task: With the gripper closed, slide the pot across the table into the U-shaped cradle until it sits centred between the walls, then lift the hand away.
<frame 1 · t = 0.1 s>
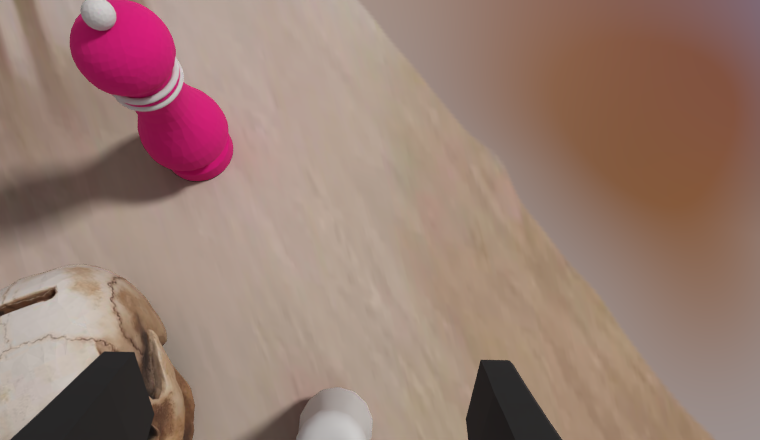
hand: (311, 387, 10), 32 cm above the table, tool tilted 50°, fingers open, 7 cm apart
pepper mill: (201, 152, 46), on the table
salt shaker: (336, 421, 40), on the table
skull: (121, 395, 40), on the table
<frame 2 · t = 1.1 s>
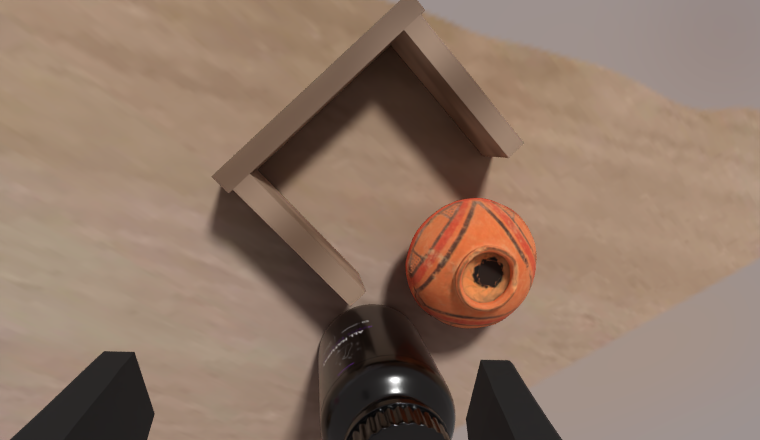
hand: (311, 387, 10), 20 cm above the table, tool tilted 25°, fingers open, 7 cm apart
supplement bottle: (368, 349, 32), on the table
pot: (453, 251, 32), on the table
cradle: (384, 174, 30), on the table
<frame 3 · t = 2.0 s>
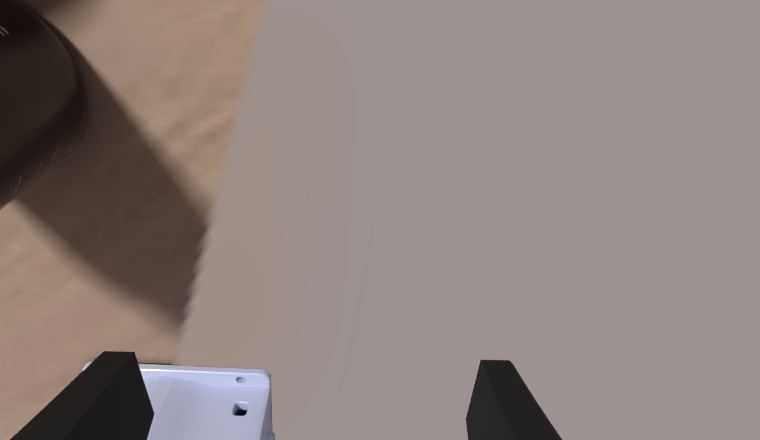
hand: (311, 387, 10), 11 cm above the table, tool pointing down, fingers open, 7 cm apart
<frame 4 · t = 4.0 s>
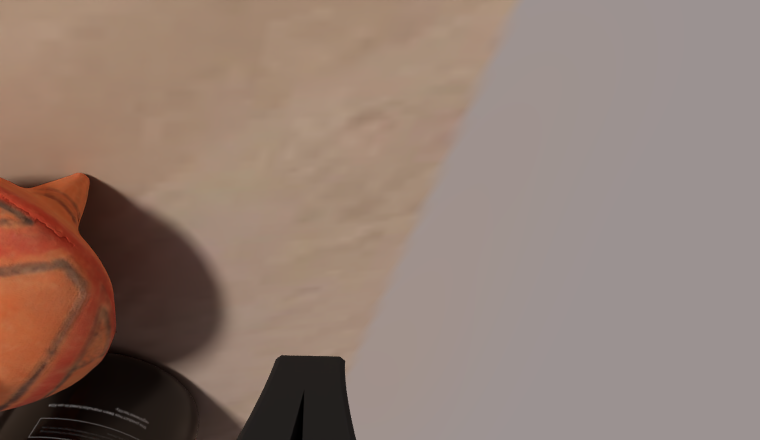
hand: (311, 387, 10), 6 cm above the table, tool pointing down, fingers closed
supplement bottle: (120, 398, 20), on the table
pot: (27, 220, 15), on the table
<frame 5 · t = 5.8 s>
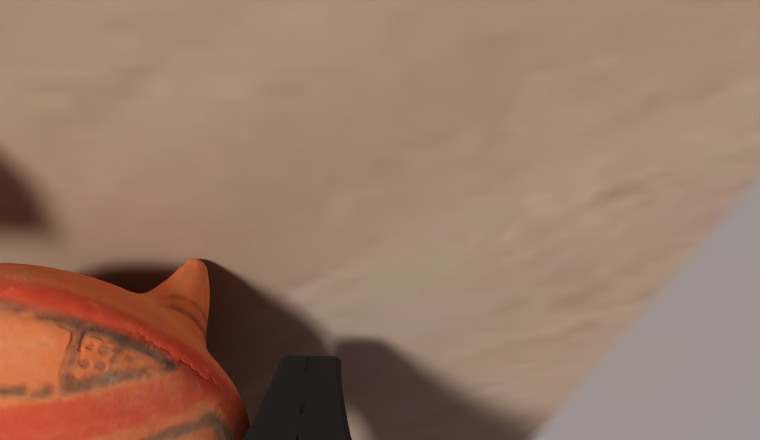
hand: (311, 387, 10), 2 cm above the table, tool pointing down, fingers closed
pot: (114, 308, 12), on the table, touching gripper
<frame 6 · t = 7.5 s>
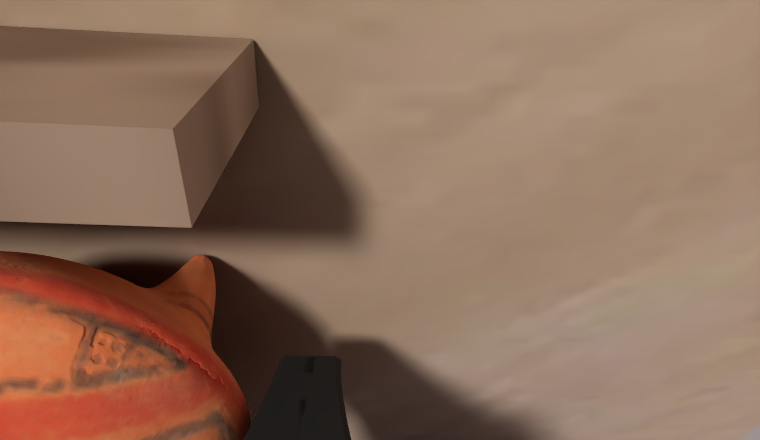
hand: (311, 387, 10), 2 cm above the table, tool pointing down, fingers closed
pot: (113, 299, 12), on the table, touching gripper
cradle: (133, 318, 12), on the table
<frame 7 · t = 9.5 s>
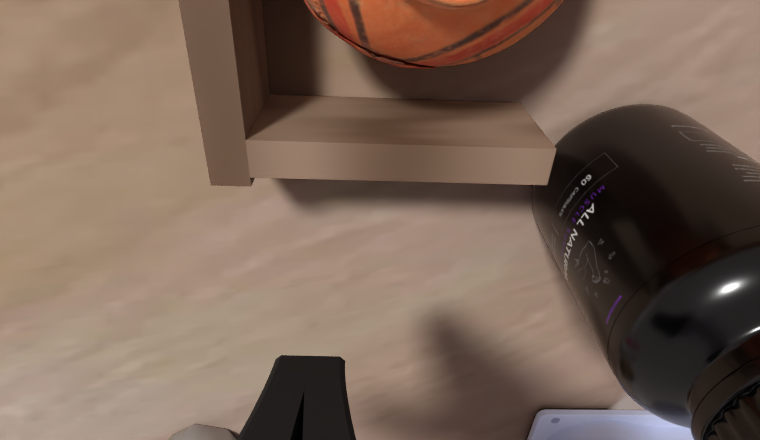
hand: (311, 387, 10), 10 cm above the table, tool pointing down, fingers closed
supplement bottle: (610, 179, 19), on the table
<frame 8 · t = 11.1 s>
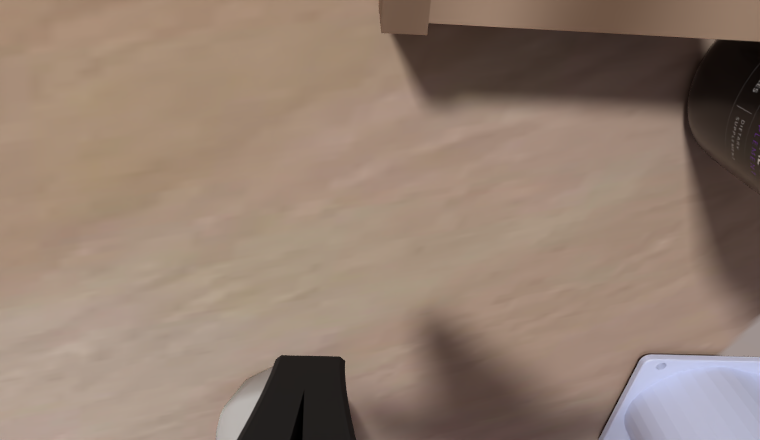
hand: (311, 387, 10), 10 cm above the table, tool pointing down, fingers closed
salt shaker: (282, 389, 27), on the table
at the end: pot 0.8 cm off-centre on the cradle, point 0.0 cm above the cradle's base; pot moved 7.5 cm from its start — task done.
